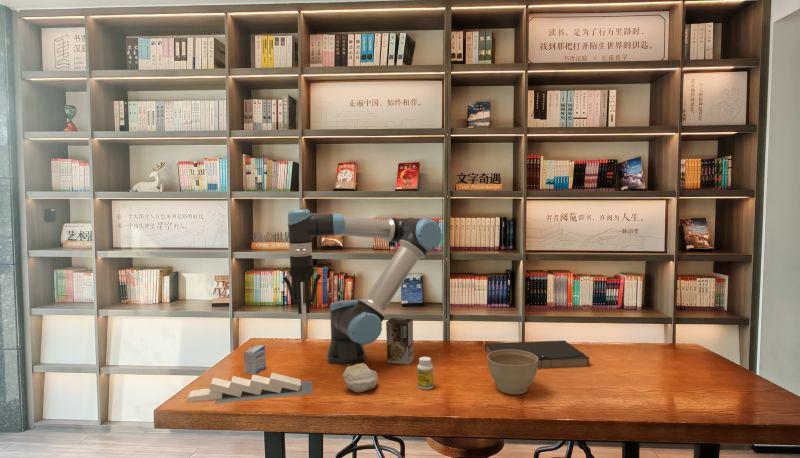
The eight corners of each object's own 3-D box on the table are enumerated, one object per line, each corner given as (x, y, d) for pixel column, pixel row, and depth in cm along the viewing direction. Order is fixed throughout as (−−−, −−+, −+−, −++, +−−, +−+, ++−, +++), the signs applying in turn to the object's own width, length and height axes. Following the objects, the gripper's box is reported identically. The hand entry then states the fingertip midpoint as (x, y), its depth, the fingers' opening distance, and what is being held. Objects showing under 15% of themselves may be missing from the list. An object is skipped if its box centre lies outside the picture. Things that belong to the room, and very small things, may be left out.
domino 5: (300, 379, 160) (271, 372, 158) (300, 385, 155) (270, 378, 153) (298, 385, 160) (269, 378, 158) (298, 391, 155) (268, 384, 153)
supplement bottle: (435, 384, 160) (435, 356, 159) (431, 390, 155) (431, 362, 154) (419, 382, 162) (419, 355, 161) (415, 388, 157) (415, 360, 156)
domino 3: (263, 383, 157) (233, 375, 155) (261, 389, 152) (230, 381, 150) (261, 388, 157) (231, 381, 155) (260, 395, 152) (228, 387, 150)
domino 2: (244, 384, 156) (213, 377, 154) (242, 391, 151) (210, 383, 149) (242, 390, 156) (211, 383, 154) (240, 397, 151) (208, 389, 149)
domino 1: (223, 386, 155) (191, 390, 153) (221, 392, 150) (187, 397, 148) (224, 392, 155) (191, 396, 153) (221, 398, 150) (188, 403, 148)
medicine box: (255, 375, 170) (255, 352, 170) (244, 374, 171) (243, 351, 171) (266, 367, 178) (265, 345, 178) (255, 367, 179) (254, 344, 178)
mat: (311, 381, 164) (311, 380, 164) (312, 394, 153) (312, 393, 153) (220, 390, 158) (220, 389, 157) (214, 404, 147) (214, 403, 147)
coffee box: (414, 359, 185) (413, 318, 184) (409, 365, 179) (408, 323, 177) (392, 357, 188) (391, 317, 186) (386, 362, 181) (385, 321, 180)
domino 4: (282, 381, 159) (252, 374, 157) (281, 387, 154) (251, 380, 151) (280, 386, 159) (250, 380, 157) (280, 393, 154) (249, 386, 151)
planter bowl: (535, 381, 161) (536, 350, 161) (539, 401, 146) (540, 367, 145) (487, 378, 165) (487, 347, 164) (486, 397, 149) (486, 364, 148)
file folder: (502, 360, 172) (485, 341, 196) (502, 371, 172) (485, 351, 196) (590, 357, 174) (562, 338, 198) (590, 368, 174) (562, 348, 198)
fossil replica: (384, 386, 159) (359, 383, 164) (383, 361, 160) (358, 359, 164) (365, 397, 149) (339, 394, 154) (364, 370, 149) (338, 368, 154)
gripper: (281, 257, 156) (285, 327, 158) (321, 255, 160) (324, 323, 161) (281, 254, 164) (284, 321, 165) (319, 252, 167) (322, 318, 169)
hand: (304, 322), depth 163 cm, fingers closed
